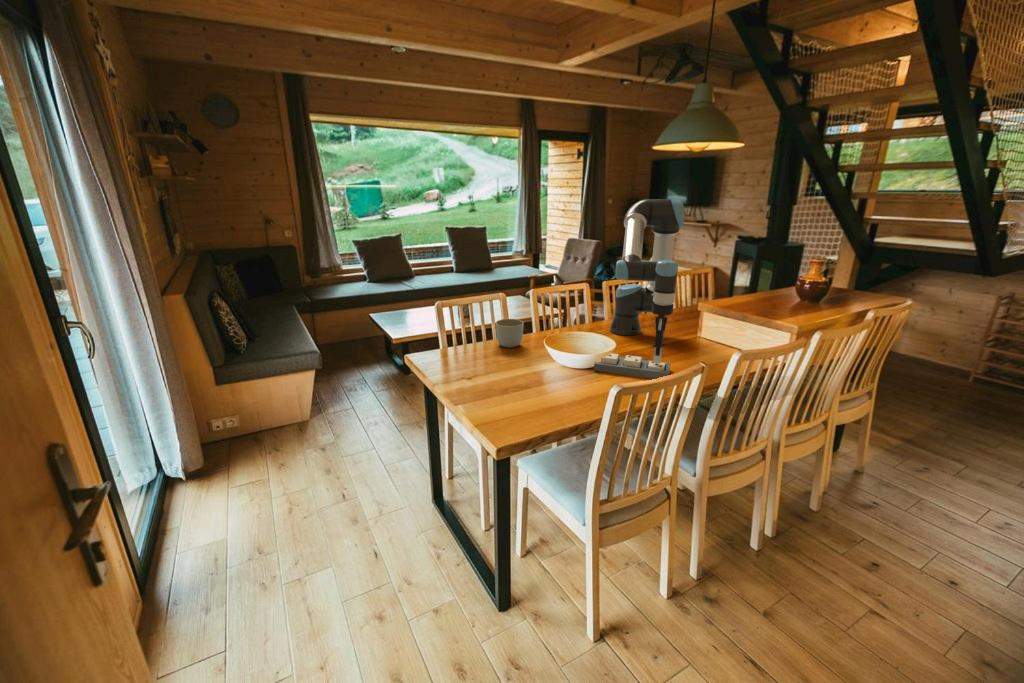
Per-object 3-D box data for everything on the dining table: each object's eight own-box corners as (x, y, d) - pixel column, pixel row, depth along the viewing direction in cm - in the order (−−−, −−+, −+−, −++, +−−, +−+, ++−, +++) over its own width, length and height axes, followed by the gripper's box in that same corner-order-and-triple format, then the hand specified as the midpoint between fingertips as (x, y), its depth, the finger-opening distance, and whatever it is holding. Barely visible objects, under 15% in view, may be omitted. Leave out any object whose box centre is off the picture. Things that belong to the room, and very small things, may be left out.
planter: (525, 341, 219) (525, 319, 216) (520, 350, 207) (521, 327, 204) (499, 340, 221) (498, 318, 218) (493, 349, 209) (493, 325, 206)
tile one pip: (603, 358, 191) (603, 351, 191) (618, 360, 189) (618, 353, 189) (600, 363, 186) (601, 356, 185) (615, 365, 184) (616, 358, 183)
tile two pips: (625, 361, 188) (626, 354, 188) (641, 362, 186) (641, 356, 186) (623, 366, 183) (624, 359, 182) (639, 368, 181) (640, 361, 180)
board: (599, 361, 195) (599, 354, 194) (670, 370, 186) (670, 363, 185) (593, 370, 185) (594, 363, 184) (668, 380, 176) (669, 373, 175)
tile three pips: (648, 366, 186) (649, 360, 185) (664, 368, 184) (665, 362, 183) (647, 372, 180) (647, 365, 180) (663, 374, 178) (664, 367, 178)
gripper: (654, 298, 181) (648, 355, 188) (650, 306, 169) (644, 367, 177) (674, 299, 178) (668, 358, 186) (672, 308, 167) (665, 369, 174)
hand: (656, 362), depth 181 cm, fingers closed
